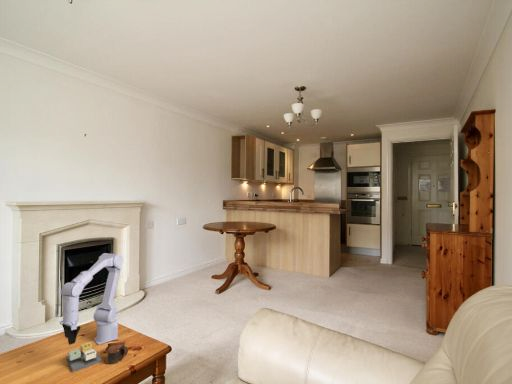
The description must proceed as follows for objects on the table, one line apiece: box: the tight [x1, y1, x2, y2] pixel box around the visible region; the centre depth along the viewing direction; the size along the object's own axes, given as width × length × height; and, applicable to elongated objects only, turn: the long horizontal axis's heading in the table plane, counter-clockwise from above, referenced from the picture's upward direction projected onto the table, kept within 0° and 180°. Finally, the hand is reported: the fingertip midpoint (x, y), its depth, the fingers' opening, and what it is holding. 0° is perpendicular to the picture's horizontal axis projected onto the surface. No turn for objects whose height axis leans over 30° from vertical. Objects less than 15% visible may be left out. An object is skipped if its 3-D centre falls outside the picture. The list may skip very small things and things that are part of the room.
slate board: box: [65, 347, 102, 373], centre depth 126 cm, size 11×13×1 cm
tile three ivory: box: [84, 348, 97, 361], centre depth 124 cm, size 4×4×2 cm
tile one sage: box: [67, 348, 81, 361], centre depth 124 cm, size 4×4×2 cm
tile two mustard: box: [80, 341, 94, 353], centre depth 130 cm, size 4×4×2 cm
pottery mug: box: [104, 341, 129, 364], centre depth 129 cm, size 12×10×8 cm
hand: (70, 340), depth 124 cm, fingers open, 7 cm apart
